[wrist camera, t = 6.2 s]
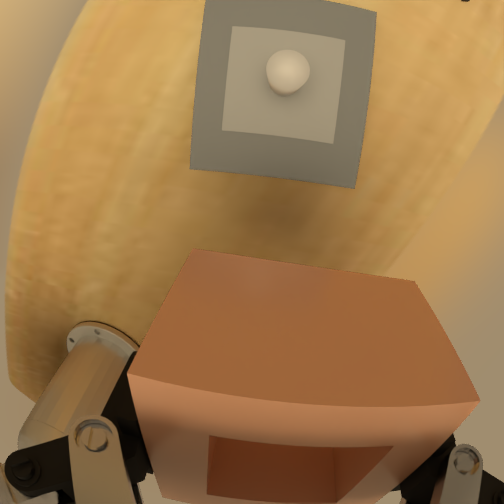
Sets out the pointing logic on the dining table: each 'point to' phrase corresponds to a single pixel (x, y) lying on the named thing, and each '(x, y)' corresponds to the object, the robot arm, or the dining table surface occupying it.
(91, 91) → the dining table surface
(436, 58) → the dining table surface
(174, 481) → the collar
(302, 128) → the post board
